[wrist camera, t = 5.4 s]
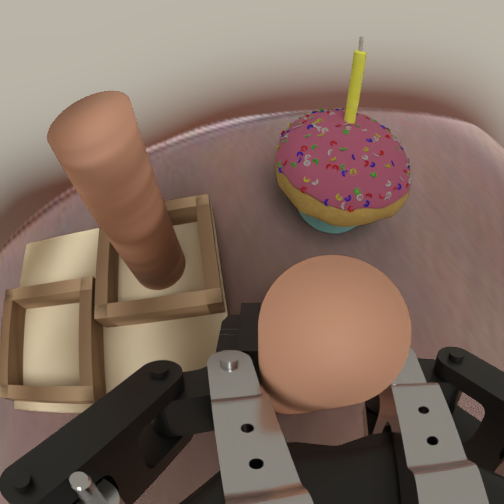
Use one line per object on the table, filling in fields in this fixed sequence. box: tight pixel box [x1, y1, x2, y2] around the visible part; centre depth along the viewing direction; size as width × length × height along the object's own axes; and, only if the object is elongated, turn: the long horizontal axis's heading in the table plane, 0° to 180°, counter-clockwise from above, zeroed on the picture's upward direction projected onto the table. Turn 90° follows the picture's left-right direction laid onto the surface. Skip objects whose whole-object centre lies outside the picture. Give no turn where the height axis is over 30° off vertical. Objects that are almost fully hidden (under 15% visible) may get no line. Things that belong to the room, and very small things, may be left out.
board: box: [0, 91, 228, 413], centre depth 13 cm, size 14×12×12 cm
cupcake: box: [275, 37, 413, 233], centre depth 17 cm, size 9×8×12 cm
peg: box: [258, 255, 411, 415], centre depth 11 cm, size 3×3×11 cm
